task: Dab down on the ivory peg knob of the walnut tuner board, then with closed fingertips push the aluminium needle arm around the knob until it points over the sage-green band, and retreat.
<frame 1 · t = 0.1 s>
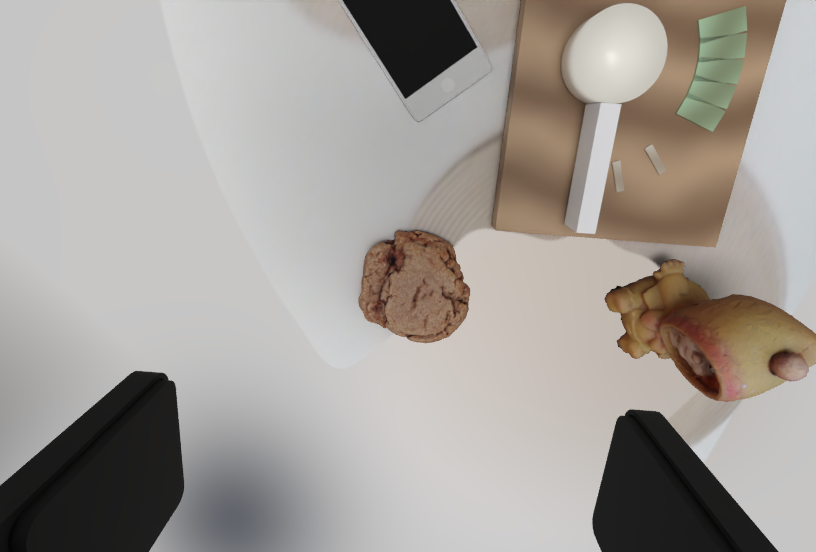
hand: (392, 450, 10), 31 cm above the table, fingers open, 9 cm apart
tuner board: (621, 109, 37), on the table
figurine: (659, 303, 42), on the table
peg dial: (598, 126, 33), point 4 cm above the table, hinge at 0.0°
smartphone: (399, 8, 35), on the table
cookie: (415, 284, 42), on the table
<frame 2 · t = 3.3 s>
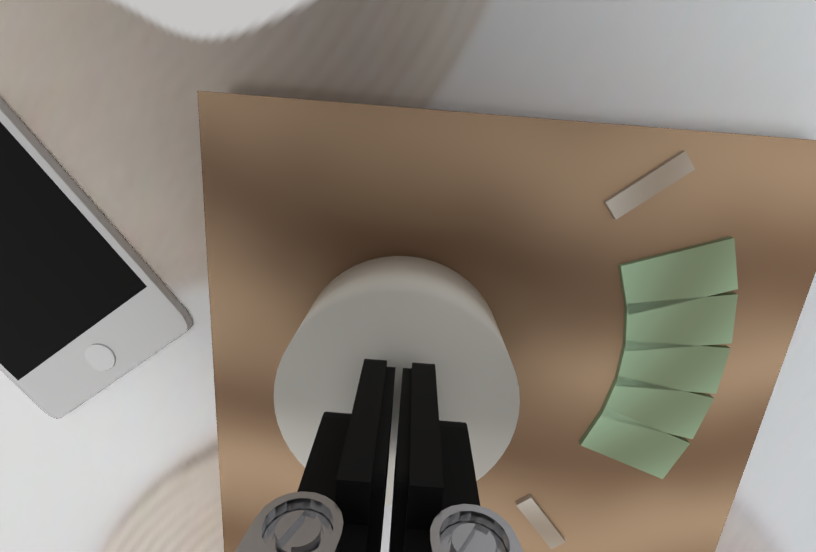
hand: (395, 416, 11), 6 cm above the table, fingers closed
tuner board: (476, 398, 18), on the table
peg dial: (388, 506, 14), point 4 cm above the table, hinge at 0.0°
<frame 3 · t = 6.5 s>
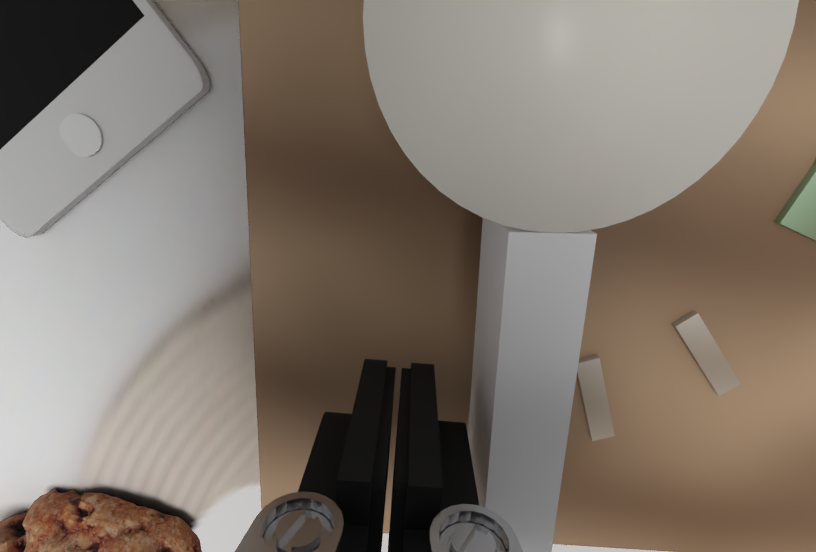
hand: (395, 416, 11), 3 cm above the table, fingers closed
tuner board: (603, 196, 13), on the table
peg dial: (523, 290, 9), point 4 cm above the table, hinge at 2.4°, touching gripper
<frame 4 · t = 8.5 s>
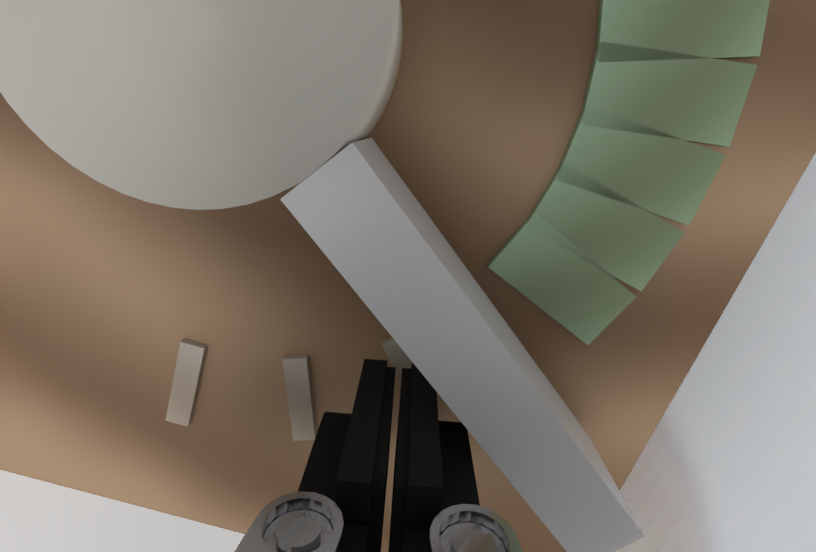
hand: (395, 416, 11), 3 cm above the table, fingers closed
tuner board: (366, 204, 13), on the table
peg dial: (383, 229, 9), point 4 cm above the table, hinge at 54.4°, touching gripper
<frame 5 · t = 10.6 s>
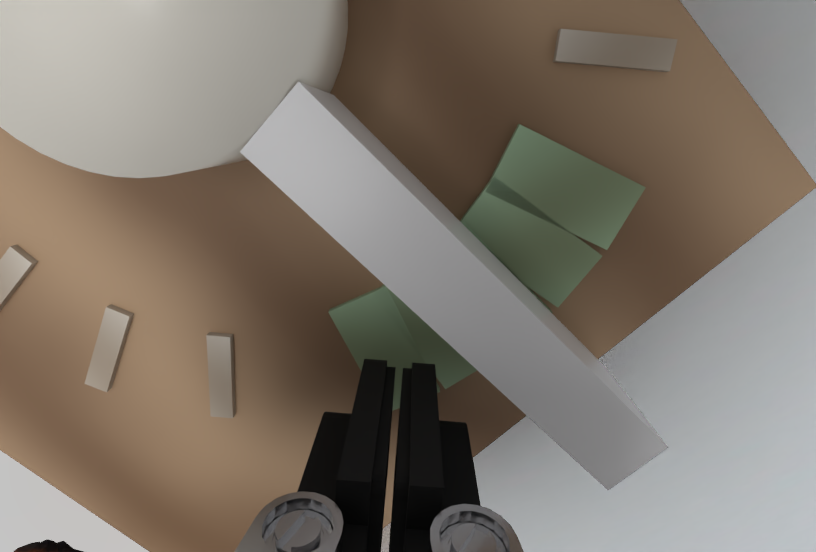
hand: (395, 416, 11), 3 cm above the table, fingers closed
tuner board: (259, 202, 13), on the table
peg dial: (354, 178, 9), point 4 cm above the table, hinge at 90.5°
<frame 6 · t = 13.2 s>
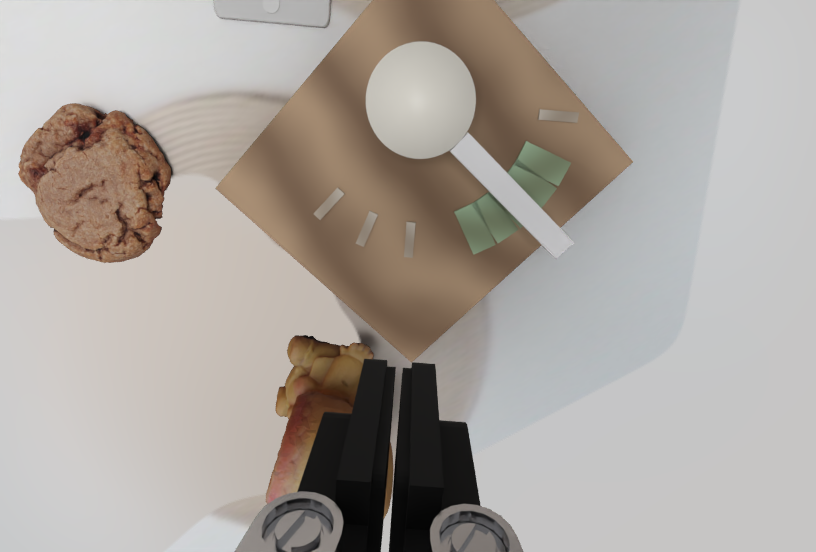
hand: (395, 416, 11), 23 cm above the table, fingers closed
tuner board: (420, 172, 32), on the table
figurine: (341, 380, 37), on the table
peg dial: (474, 159, 28), point 4 cm above the table, hinge at 90.6°
cookie: (111, 184, 33), on the table
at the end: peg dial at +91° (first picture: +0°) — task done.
